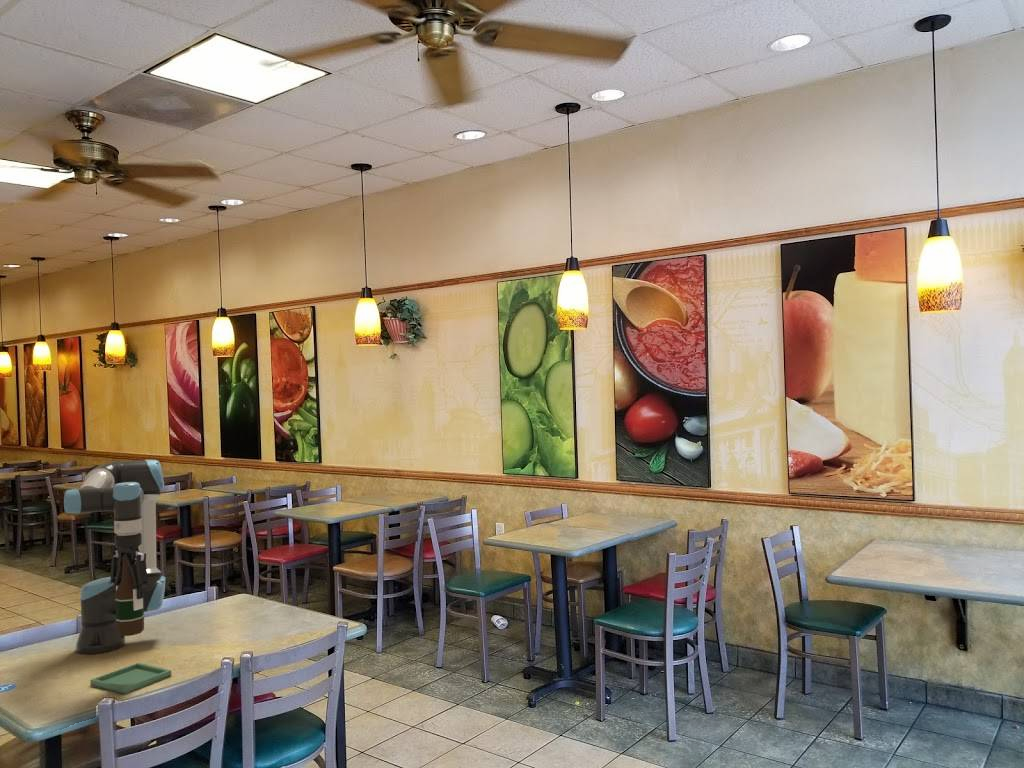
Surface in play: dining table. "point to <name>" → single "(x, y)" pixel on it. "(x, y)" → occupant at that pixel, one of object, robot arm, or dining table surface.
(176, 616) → the dining table surface
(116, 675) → the tray
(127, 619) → the beer bottle
